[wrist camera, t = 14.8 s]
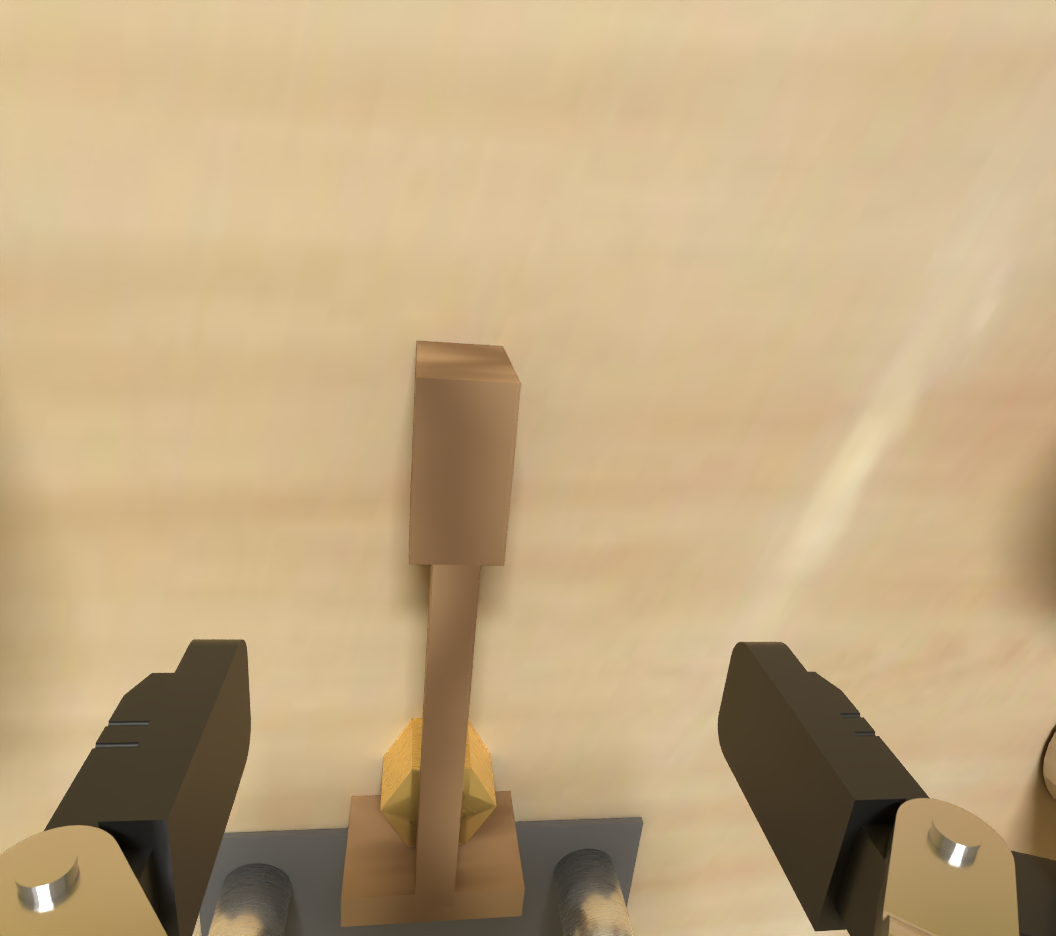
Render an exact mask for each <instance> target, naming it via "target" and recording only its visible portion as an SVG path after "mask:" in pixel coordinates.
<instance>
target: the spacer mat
mask: <svg viewBox="0 0 1056 936" xmlns="http://www.w3.org/2000/svg"><path fill="white" fill-rule="evenodd" d="M642 825H643V821H642V818H641V817H638V818H611V819H585V820H559V821H532V822H515V827H516V833H517V840H518V847H519V853H520V860H521V867H522V873H523V880H524V887H525V891H524V899H523V907H522V915H521V916H514V917H498V918H481V919H465V920H448V921H431V922H415V923H398V924H382V925H365V926H349V927H341V894H342V885H343V875H344V866H345V856H346V847H347V837H348V828H347V829H321V830H294V831H268V832H241V833H224V835H223V838H222V841H221V844H220V848H219V851H218V854H217V857H216V860H215V864H214V867H213V870H212V873H211V876H210V880H209V883H208V886H207V889H206V892H205V896H204V899H203V902H202V905H201V908H200V922H201V934H202V936H208V934H209V930H210V927H211V923H212V920H213V916H214V912H215V909H216V905H217V901H218V898H219V894H220V891H221V887H222V883H223V881H224V879H225V878H226V876H227V875H228V874H229V873H230V872H231V871H233V870H234V869H236V868H238V867H241V866H243V865H247V864H254V863H262V864H269V865H272V866H275V867H277V868H279V869H281V870H282V871H284V872H285V873H286V874H287V875H288V877H289V878H290V881H291V884H292V890H291V896H290V901H289V907H288V912H287V918H286V924H285V929H284V935H283V936H564V934H563V928H562V923H561V918H560V913H559V908H558V902H557V897H556V892H555V887H554V881H553V871H554V868H555V866H556V865H557V863H558V862H559V861H560V860H561V859H562V858H563V857H565V856H566V855H568V854H570V853H571V852H574V851H577V850H581V849H597V850H601V851H603V852H605V853H606V854H608V855H609V856H610V857H611V859H612V860H613V863H614V866H615V870H616V874H617V877H618V881H619V884H620V888H621V891H622V895H623V898H624V902H625V905H626V907H627V902H628V897H629V892H630V887H631V881H632V876H633V871H634V866H635V861H636V856H637V851H638V846H639V841H640V835H641V830H642Z"/></svg>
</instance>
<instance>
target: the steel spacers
mask: <svg viewBox="0 0 1056 936" xmlns="http://www.w3.org/2000/svg"><path fill="white" fill-rule="evenodd" d="M553 881H554V887H555V892H556V897H557V902H558V908H559V913H560V918H561V923H562V928H563V934H564V936H634V933H633V930H632V926H631V923H630V919H629V916H628V912H627V909H626V905H625V902H624V898H623V895H622V891H621V888H620V884H619V881H618V877H617V874H616V870H615V866H614V863H613V860H612V859H611V857H610V856H609V855H608V854H606V853H605V852H603V851H601V850H597V849H581V850H577V851H574V852H571V853H570V854H568V855H566V856H565V857H563V858H562V859H561V860H560V861H559V862H558V863H557V865H556V866H555V868H554V871H553ZM291 890H292V884H291V881H290V878H289V877H288V875H287V874H286V873H285V872H284V871H282V870H281V869H279V868H277V867H275V866H272V865H269V864H262V863H254V864H247V865H243V866H241V867H238V868H236V869H234V870H233V871H231V872H230V873H229V874H228V875H227V876H226V878H225V879H224V881H223V883H222V887H221V891H220V894H219V898H218V901H217V905H216V909H215V912H214V916H213V920H212V923H211V927H210V930H209V934H208V936H283V935H284V929H285V924H286V918H287V912H288V907H289V901H290V896H291Z"/></svg>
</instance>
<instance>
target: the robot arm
mask: <svg viewBox="0 0 1056 936" xmlns="http://www.w3.org/2000/svg"><path fill="white" fill-rule="evenodd" d="M250 732H251V715H250V695H249V676H248V656H247V646H246V643H245V641H244V640H192V642H191V643H190V644H189V646H188V648H187V650H186V652H185V654H184V656H183V658H182V660H181V662H180V664H179V666H178V667H177V669H176V671H175V673H152V674H150V675H149V676H148V677H146V678H145V679H144V680H143V681H141V682H140V683H139V684H138V685H136V686H135V687H134V688H133V689H131V690H130V691H129V692H128V693H126V694H125V695H124V696H123V698H122V700H121V701H120V703H119V705H118V706H117V708H116V710H115V711H114V713H113V715H112V717H111V718H110V720H109V724H108V726H106V727H105V728H104V730H103V732H102V733H101V735H100V737H99V739H98V740H97V742H96V747H95V749H92V750H91V752H90V754H89V755H88V757H87V759H86V761H85V762H84V764H83V766H82V767H81V769H80V771H79V772H78V774H77V776H76V777H75V779H74V781H73V782H72V784H71V786H70V788H69V789H68V791H67V793H66V794H65V796H64V798H63V799H62V801H61V803H60V804H59V806H58V808H57V810H56V811H55V813H54V815H53V816H52V818H51V820H50V821H49V823H48V825H47V826H46V828H45V830H44V831H43V832H41V833H38V834H36V835H33V836H31V837H29V838H27V839H25V840H23V841H21V842H19V843H17V844H16V845H14V846H13V847H11V848H9V849H8V850H6V851H5V852H4V853H3V854H1V855H0V936H192V934H193V931H194V928H195V925H196V921H197V918H198V915H199V912H200V908H201V905H202V902H203V899H204V896H205V892H206V889H207V886H208V883H209V880H210V876H211V873H212V870H213V867H214V864H215V860H216V857H217V854H218V851H219V848H220V844H221V841H222V838H223V835H224V832H225V828H226V825H227V822H228V819H229V816H230V812H231V809H232V806H233V803H234V800H235V796H236V793H237V790H238V787H239V784H240V780H241V777H242V774H243V771H244V768H245V764H246V760H247V756H248V750H249V743H250ZM718 736H719V742H720V746H721V750H722V753H723V755H724V757H725V759H726V761H727V763H728V765H729V767H730V769H731V771H732V772H733V774H734V776H735V778H736V780H737V782H738V784H739V786H740V788H741V790H742V792H743V794H744V796H745V797H746V799H747V801H748V803H749V805H750V807H751V809H752V811H753V813H754V815H755V817H756V819H757V821H758V822H759V824H760V826H761V828H762V830H763V832H764V834H765V836H766V838H767V840H768V842H769V844H770V846H771V847H772V849H773V851H774V853H775V855H776V857H777V859H778V861H779V863H780V865H781V867H782V869H783V871H784V872H785V874H786V876H787V878H788V880H789V882H790V884H791V886H792V888H793V890H794V892H795V894H796V896H797V897H798V899H799V901H800V903H801V905H802V907H803V909H804V911H805V913H806V915H807V917H808V919H809V921H810V922H811V924H812V926H813V928H814V930H815V931H829V930H845V929H847V931H848V933H849V934H850V936H1056V861H1054V860H1050V859H1045V858H1041V857H1037V856H1032V855H1028V854H1023V853H1019V852H1015V851H1011V850H1010V848H1009V847H1008V845H1007V844H1006V842H1005V841H1004V840H1003V839H1002V837H1001V836H1000V835H999V834H998V833H997V832H996V831H995V830H994V829H993V828H992V827H991V826H989V825H988V824H987V823H986V822H984V821H983V820H982V819H980V818H979V817H977V816H975V815H974V814H972V813H970V812H968V811H967V810H965V809H963V808H960V807H958V806H956V805H953V804H951V803H948V802H945V801H940V800H936V799H930V798H929V797H928V796H927V794H926V793H925V792H924V791H923V789H922V788H921V787H920V786H919V785H918V783H917V782H916V781H915V780H914V778H913V777H912V776H911V775H910V774H909V772H908V771H907V770H906V769H905V767H904V766H903V765H902V764H901V763H900V761H899V760H898V759H897V758H896V756H895V755H894V754H893V753H892V752H891V750H890V749H889V748H888V747H887V745H886V744H885V743H884V742H883V741H882V739H881V738H880V737H879V736H875V731H874V730H873V728H872V727H871V726H870V725H869V724H868V722H867V721H866V720H865V719H864V718H861V717H860V713H859V711H858V710H857V709H856V708H855V706H854V705H853V704H852V703H851V702H850V700H849V699H848V698H847V697H846V695H845V694H844V693H843V692H842V691H841V690H840V689H838V688H837V687H836V686H834V685H833V684H831V683H830V682H828V681H827V680H826V679H824V678H823V677H821V676H820V675H819V674H817V673H816V672H807V671H806V669H805V668H804V667H803V665H802V664H801V663H800V662H799V660H798V659H797V658H796V656H795V655H794V654H793V653H792V651H791V650H790V649H789V647H788V646H787V645H786V644H784V643H782V642H739V643H737V644H736V645H735V647H734V649H733V651H732V655H731V660H730V664H729V669H728V674H727V678H726V683H725V688H724V692H723V697H722V702H721V706H720V711H719V717H718ZM1043 776H1044V780H1045V785H1046V787H1047V789H1048V791H1049V792H1050V794H1051V796H1052V797H1053V798H1054V799H1055V800H1056V732H1055V734H1054V735H1053V737H1052V739H1051V741H1050V743H1049V745H1048V748H1047V752H1046V755H1045V758H1044V767H1043Z"/></svg>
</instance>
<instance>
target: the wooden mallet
mask: <svg viewBox="0 0 1056 936" xmlns="http://www.w3.org/2000/svg"><path fill="white" fill-rule="evenodd" d="M520 389H521V382H520V380H519V378H518V376H517V374H516V372H515V370H514V368H513V366H512V364H511V362H510V360H509V358H508V356H507V354H506V352H505V350H504V348H503V346H490V345H474V344H459V343H443V342H427V341H417V346H416V371H415V395H414V420H413V444H412V468H411V493H410V533H409V564H416V565H431V573H430V592H429V611H428V629H427V648H426V667H425V685H424V704H423V723H422V741H421V760H420V779H419V797H418V816H417V835H416V847H408V846H407V845H406V844H405V842H404V841H403V840H402V838H401V837H400V836H399V834H398V833H397V832H396V830H395V829H394V828H393V827H392V825H391V824H390V823H389V821H388V820H387V819H386V817H385V816H384V815H383V813H382V812H381V811H380V809H381V795H375V796H352V799H351V809H350V818H349V828H348V837H347V847H346V856H345V866H344V875H343V885H342V894H341V927H349V926H365V925H382V924H398V923H415V922H431V921H448V920H465V919H481V918H498V917H514V916H521V915H522V907H523V899H524V891H525V887H524V880H523V873H522V867H521V860H520V853H519V847H518V840H517V833H516V827H515V820H514V813H513V807H512V800H511V793H510V791H500V792H495V797H496V805H497V807H496V808H495V809H494V810H493V811H492V813H491V814H490V815H489V816H488V818H487V819H486V820H485V821H484V822H483V824H482V825H481V826H480V827H479V828H478V830H477V831H476V832H475V833H474V835H473V836H472V837H471V838H470V839H469V841H468V842H467V843H466V844H465V845H458V841H459V828H460V816H461V803H462V791H463V778H464V766H465V753H466V741H467V729H468V716H469V704H470V691H471V679H472V666H473V654H474V641H475V629H476V617H477V604H478V592H479V579H480V567H481V566H504V561H505V550H506V539H507V529H508V518H509V507H510V496H511V486H512V475H513V464H514V453H515V443H516V432H517V421H518V410H519V400H520Z"/></svg>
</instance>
